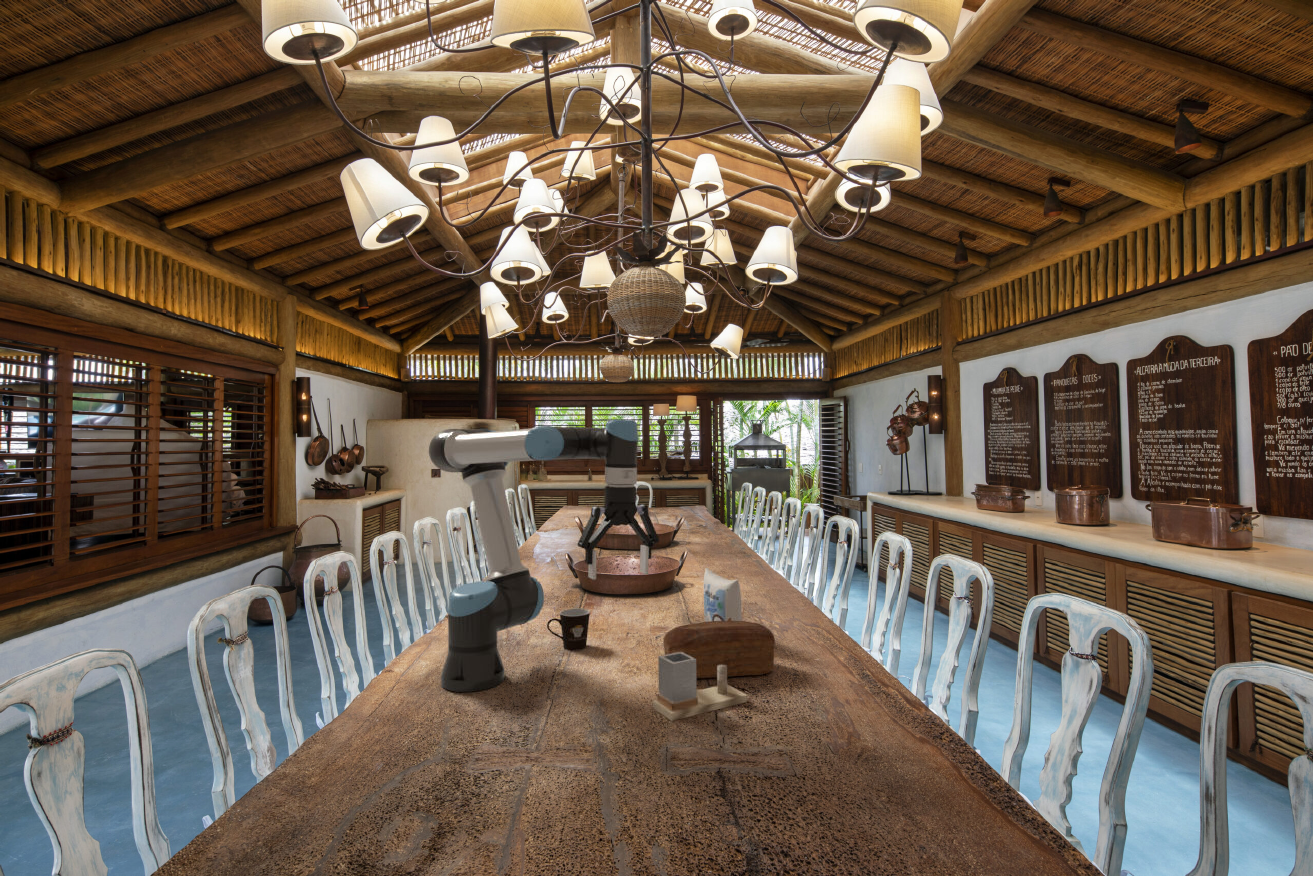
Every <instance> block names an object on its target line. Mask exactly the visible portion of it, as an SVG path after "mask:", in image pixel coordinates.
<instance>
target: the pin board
mask: <svg viewBox="0 0 1313 876" xmlns="http://www.w3.org/2000/svg"><path fill="white" fill-rule="evenodd" d="M716 679H717V685H715V686H711V687H707V688H703V689H698V690H696V695H697V698H698V705H697V706H692V707H688V708H684V709H680V710H676V711H672V710H670V709H669V708H667V707H666V706H664V705H663V704H661V703H660V702H659V701H658V699H655V700H652V709H653V710H655V711H657V712H658V713H659V714H661V715H662V716H663V717H665V718H667V719H668V720H669V721H671V722H672V721H673V722H674V721H677V720H681V719H685V718H688V717H692V716H693V717H694V716H697V715H700V714H704V713H708V712H709V713H710V712H713V711H716V710H719V709H720V710H721V709H724V708H728V707H731V706H736V705H739V704H740V705H741V704H743V703H747V702H748V694H746V693H744V692H742V691H740V690H738V689H737V688H735V687H732V686H731V685H729V684H728V677H727V666H726V665H718V666H717V677H716Z"/></svg>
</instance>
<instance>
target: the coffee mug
mask: <svg viewBox="0 0 1313 876" xmlns="http://www.w3.org/2000/svg"><path fill="white" fill-rule="evenodd" d="M590 615H591V611H590V610H589V609H586V608H568V609H563V610H561V611H559V619H558V618H551V619H550V620H548V621H547V623H546V628H547V630H548V632H550V633H551V634H552V635H554V636H556V637H558V638H559V639H561V640H562V643H563V649H564V650H566V651H573V652H574V651H581V650H584V649H586V648H587V642H588V633H589V631H588V630H589V624H590V623H589V622H590ZM553 621H556V622H557V623H559V625H560V627H561V634H562V635H559V634H557V633H556V632H554V631H552V629H551V628H550V624H551V622H553Z"/></svg>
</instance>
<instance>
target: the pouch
mask: <svg viewBox="0 0 1313 876" xmlns="http://www.w3.org/2000/svg"><path fill="white" fill-rule="evenodd" d="M704 570H705V571H704V573H703V575H704V576H703V607H704V608H703V610H704V611H703V615H704V622H709V621H743V616H742V614H743V613H742V594H741V585H740V582H739V580H738V578H736V579H734V580H732V579H726V578H723V577H722V576H721V575H718V574H716V573H714V572H713V571H712V570H710V569H708V568H707V567H705V569H704Z"/></svg>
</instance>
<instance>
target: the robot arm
mask: <svg viewBox="0 0 1313 876" xmlns="http://www.w3.org/2000/svg"><path fill="white" fill-rule="evenodd" d="M605 423H606V424H605V427H588V426H587V427H585V426H551V425H541V426H535V427H531V428H521V429H520V428H519V429H508V430H507V429H506V430H499V431H497V430H494V429H488V428H487V429H486V428H479V429H474V428H473V429H472V428H450V429H449V428H448V429H444V430H441V431H439V432H438V433H436V435H434V436H433V438H432V439H431V440H430V442H429V446H428V455H429V458H430V461H431V463H432V464H433V465H434V466H435V467H436V468H438V469H440V470H441V471H443V472H447V473H461V475H462V481H463V483H464V484H466V485H468V486H469V487H470V488H471V489H470V490H471V495H472V499H473V504H474V508H475V512H476V516H477V522H478V526H479V530H480V535H481V539H482V544H483V549H484V553H485V557H486V562H487V567H488V572H489V573H488V575H487V577H486V579H485V580H482V581H476V582H468V583H465V584H461V585H460V586H457V587H456V588H454V589H453V590H452V591H451V592H450V593H449V595H448V603H447V604H448V605H447V620H448V622H447V623H448V625H447V626H448V631H447V632H448V633H447V634H448V635H447V636H448V637H447V638H448V640H447V641H448V642H447V643H448V647H447V649H448V652H447V654H446V658H445V661H444V664H443V667H442V671H441V673H440V674H441V675H440V686H441V687H442V688H443V689H445V690H447V691H452V692H460V693H461V692H462V693H465V692H466V693H470V692H477V691H484V690H488V689H491V688H494V687H496V686H498V685H500V684H502V683H503V682H504V680H505V675H506V674H505V667H504V666H505V665H504V663H503V661H502V658H501V654H500V652H499V649H498V632H501V631H503V630H507V629H510V628H513V627H516V626H520V625H521V626H522V625H525V624H526V623H528V622H530V621H532V620H534V619H536V618H537V617H538V615H540V613H541V610H542V609H543V606H544V603H545V602H544V601H545V592H544V589H543V586H542V584H541V582H540V581H538V578H536V577H533V576H531V573H530V569H529V568H528V567H527V566H526V565H524V564H522V561H521V560H522V559H521V555H520V551H519V547H518V543H517V538H516V534H515V529H514V525H513V522H512V518H511V517H512V516H511V512H510V508H509V503H508V499H507V495H506V494H507V493H506V491H505V486H504V482H503V478H504V476H505V475H506V473H507V470H506V467H507V466H508V465H509V463H511V462H529V461H543V462H544V461H553V460H554V461H555V460H556V461H557V460H579V459H580V460H582V459H585V460H586V459H591V460H592V459H593V460H595V459H596V460H604V461H605V462H604V465H605V466H604V484H606V486H604V505H603V507H598V506H596V505H595V506H594V505H593V506H592V507H591V509H590V510H591V512H590V517H589V518H588V520H587V523H586V525H585V527H584V529H583V530H582V533H581V535H580V538H579V540H578V542H577V547H579V548H581V549H584V551H585V553H584V554H585V558H584V561H585V562H584V563H585V564H586V565H588V566H587V568H588V569H587V570H588V572H587V573H588V575H587V577H588V578H589V579H591V580H597V554H598V553H597V552H598V551H597V550H595V548H596V546H597V545H598V544H599V543H600V541H601V540H602V539H603V537H604V536H605V535H606V533H607V532H608V531H609V530H610V529H611V528H612V527H613V526H615V527H616V526H617V527H619V526H621V525H622V526H630V527H631V529H632V530H633V531H634V533H635V534H636V535H637V537H638V538H639V540H641V542H642V543H643V544H640V556H639V557H640V558H639V559H640V561H639V563H640V564H639V573H641V574H644V575H649V560H651V559H652V549H653V548H652V547H654V546H655V544H658V543H659V542H660V538H659V537H658V534H657V532H656V529H655V527H654V524H653V522H652V519H651V517H650V514H649V507H648V505H646V504H639V505H637V504H636V503H637V491H638V490H637V487H636V486H635V485H636V484H637V483H638V482H637V479H638V463H637V462H638V448H639V447H638V446H639V437H638V436H639V435H638V423H637V422H636V420H631V419H607V421H606V422H605ZM636 514H638V515H639V517H640V519H641V521H642V524H643V526H644V528H645V531H644V529H643V528H642V526H641V525H640V524H639V521H638V520H637V519H636V518H635V515H636ZM602 515H604V516H605V517H604V518H603V519H602V521H601V522H600V523H601V524H600V525H599V526H598V528H597V529H596V526H597V525H598V523H599V520H600V518H601V517H602Z"/></svg>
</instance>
